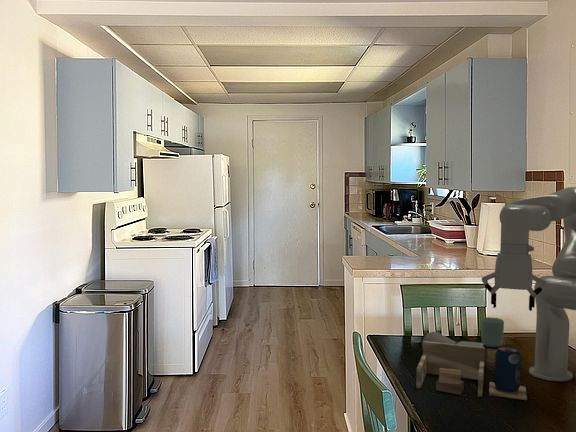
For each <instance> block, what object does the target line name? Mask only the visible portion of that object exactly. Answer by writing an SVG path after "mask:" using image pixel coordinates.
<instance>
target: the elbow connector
mask: <svg viewBox="0 0 576 432" xmlns="http://www.w3.org/2000/svg"><path fill="white" fill-rule="evenodd" d="M424 341H429V342H438V343H448V344H457V345H467V346H476V347H484V344H483V342H477V341H476V342H475V341H466V340H460V341H459V342H458V341H454V340H453V339H451V338H449V337H448V336H445V335H443V334H442V333H439V332H438V331H429V332H428V333H426V334H425V335H424V336H423V339H422V341H421V347H422V349H423V342H424Z"/></svg>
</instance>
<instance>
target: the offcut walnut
mask: <svg viewBox="0 0 576 432" xmlns="http://www.w3.org/2000/svg"><path fill="white" fill-rule="evenodd" d="M435 386H436V387H435V390H436V391H438V392H442V393H443V392H444V393H448V394H456V395H462V393H463V392H464V386H465V385H464V380H461V385H460V384H449V383H439V378H438V379H437V380H436V383H435Z"/></svg>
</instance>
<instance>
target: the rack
mask: <svg viewBox="0 0 576 432" xmlns="http://www.w3.org/2000/svg"><path fill="white" fill-rule="evenodd" d="M485 347H486V346H485ZM485 347H484V346H483V347H476V346H467V345H457V344H448V343H438V342H429V341H424V342H423V348H422V355H421V358H420V360H419V363H418V365H416V366H417V367H416V380H415V381H416V383H415V385H416V387H415V388H416V389H419V390H420V389H421V388H422V385H423V382H424V381H425V378H426V375H427V374H428V375H429V374H430V375H437V376H439V370H440V368H444V369H455V370H461V379H468V380H477V384H478V385H477V397H478V398H483V391H484V380H485V379H484V377H485V350H486V349H485Z"/></svg>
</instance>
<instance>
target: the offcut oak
mask: <svg viewBox="0 0 576 432" xmlns="http://www.w3.org/2000/svg"><path fill="white" fill-rule="evenodd" d="M438 379H439V383H449V384H460V385H461V381H462V378H461V370H455V369H444V368H440V370H439V375H438Z"/></svg>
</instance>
